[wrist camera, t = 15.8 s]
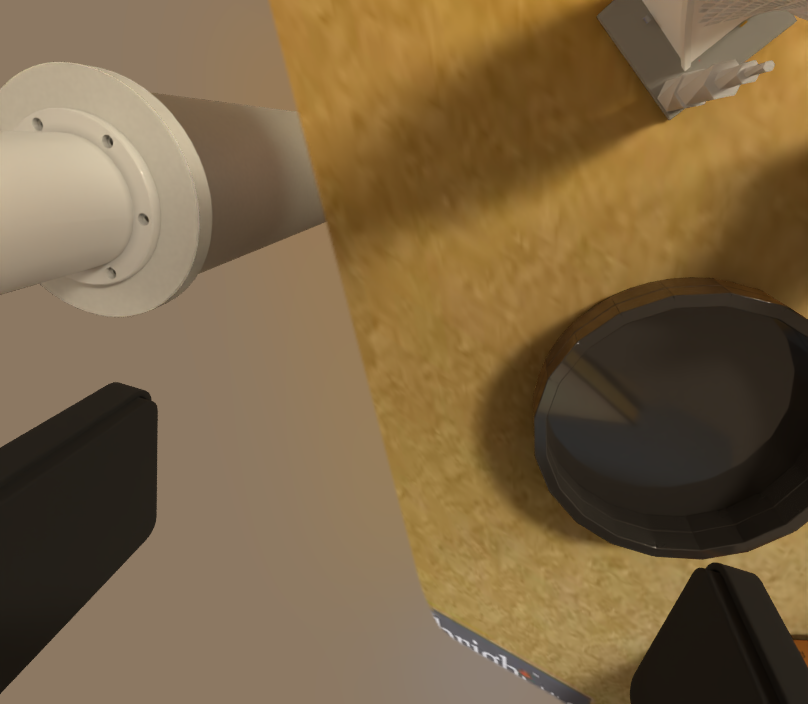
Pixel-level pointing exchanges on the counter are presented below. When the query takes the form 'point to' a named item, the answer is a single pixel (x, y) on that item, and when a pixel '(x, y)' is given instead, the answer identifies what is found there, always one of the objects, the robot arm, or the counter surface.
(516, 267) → the counter surface
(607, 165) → the counter surface
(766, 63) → the skyscraper
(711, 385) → the bowl
